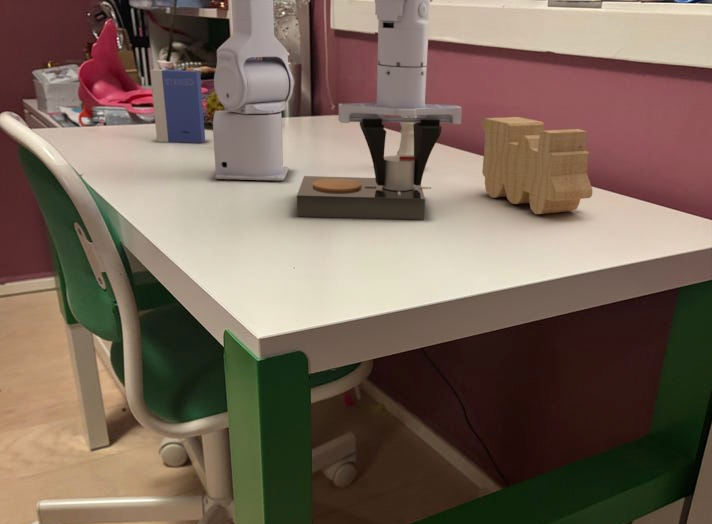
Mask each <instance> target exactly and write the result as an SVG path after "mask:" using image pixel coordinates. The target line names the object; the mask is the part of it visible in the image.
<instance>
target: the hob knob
mask: <svg viewBox="0 0 712 524" xmlns="http://www.w3.org/2000/svg"><path fill="white" fill-rule="evenodd" d="M414 181H415V156H396V155H387V156H384V185H382V188H384V189H387V190H393V191H407V190H412V189H414Z"/></svg>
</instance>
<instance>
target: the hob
mask: <svg viewBox="0 0 712 524" xmlns="http://www.w3.org/2000/svg"><path fill="white" fill-rule="evenodd" d="M322 179H349V180H354V181H358V182H360V183H361V184H362V187H361V188H360V189H358V190H353V191H343V192H335V191H324V190H319V189H316V188H314V187H313V182H315V181H317V180H322ZM431 189H432V187H431V186H422V184H421V185H415V184H414V189H412V190H407V191H393V190H387V189H384V188H382V185H377V183H376V178H375V177H358V176H357V177H356V176H355V177H354V176H352V177H351V176H321V175H320V176H319V175H318V176H316V175H304V176H303V178H302V181H301V184H300V186H299V188H298V191H297V194H296V216H297V217H299V218H301V217H302V218H303V217H305V218H338V219H339V218H340V219H341V218H342V219H344V218H345V219H346V218H347V219H381V220H384V219H385V220H416V221H417V220H419V221H420V220H423V221H424V220H425V213H426V197H425V194H424V190H431Z"/></svg>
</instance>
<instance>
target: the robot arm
mask: <svg viewBox="0 0 712 524" xmlns="http://www.w3.org/2000/svg"><path fill="white" fill-rule="evenodd" d="M432 2H433V0H374V5H375V6H374V7H375V8H374V9H375V10H374V11H375V12H374V15H376V18H377V21H378V23H377V24H378V27H377V64H376V66H377V67H376V70H377V71H376V102H357V103H355V102H354V103H338V121H339V123H340V124H349V123H359V126H360V130H361V131H362V134H363V136H364V139H365V141H366V144H367V147H368V150H369V154H370V156H371V157H370V158H371V161H372V165H373V169H374V176H375V177H374V178H376V183H377V185H384V157H385V147H386V136H387V130H385V124H383V123H399V122H404V123H415V124H414V125H413V130H414V156H415V181H414V184H415V185H421V186H422V181H423V176H424V172H425V169H426V166H427V163H428V161H429V158H430V156H431V153H432V151H433V149H434V147H435V146H436V144H437V142H438V140H439V138H440V137H441V133H442V130H443V129H442V128H443V127H442V126H441V124H452V125H461V124H462V115H463V114H462V112H463V107H462V106H460V105H457V104H455V105H453V104H433V103H426V90H427V89H426V88H427V70H428V69H427V66H428V53H429V51H428V49H429V30H430V9H431V7H430V6H431V3H432ZM274 13H275V11H274V0H231V19H232V20H231V21H232V34H231V36H230V37H229V38H227V39H226V40H225V41H224V42H223V43H222V44H221V45H220V46H219V47H218V48H217V50H216V68H215V71H214V76H213V87H214V89H215V90H214V91H215V92H216V94H217V97H218V99H219V101H220V102H221V104H222V105H223V106H224V109H225V111H216V112H215V114H214V118H213V126H212V137H213V138H212V139H213V150H214V151H213V152H214V165H215V175H214V178H215V179H216V180H245V181H247V180H249V181H284V180H285V178H286V176H287V174H288V172H289V167H288V166H284V148H283V144H284V143H283V116H282V115H283V114H282V112H283V111H286V105H287V104H288V102H289V101H290V99H291V98H292V95H293V92H294V79H293V78H294V77H293V74H292V70H291V68H290V64H289V52H288V50H287V48H286V47H285V46H284V45H283V44H282V42H280V40H278V38H277V37H276V36H275V19H274V18H275V16H274V15H275V14H274ZM251 58H261V59H251ZM387 116H389V117H387ZM392 116H393V117H392ZM402 116H406V117H408V116H411V117H413V116H417V117H418V118H402Z"/></svg>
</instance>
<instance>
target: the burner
mask: <svg viewBox="0 0 712 524" xmlns="http://www.w3.org/2000/svg"><path fill="white" fill-rule="evenodd" d="M313 187H314V188H316V189H319V190H324V191H335V192H343V191H353V190H358V189H360V188H361V187H362V184H361V183H360V182H358V181H354V180H349V179H322V180H317V181H315V182H313Z"/></svg>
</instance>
